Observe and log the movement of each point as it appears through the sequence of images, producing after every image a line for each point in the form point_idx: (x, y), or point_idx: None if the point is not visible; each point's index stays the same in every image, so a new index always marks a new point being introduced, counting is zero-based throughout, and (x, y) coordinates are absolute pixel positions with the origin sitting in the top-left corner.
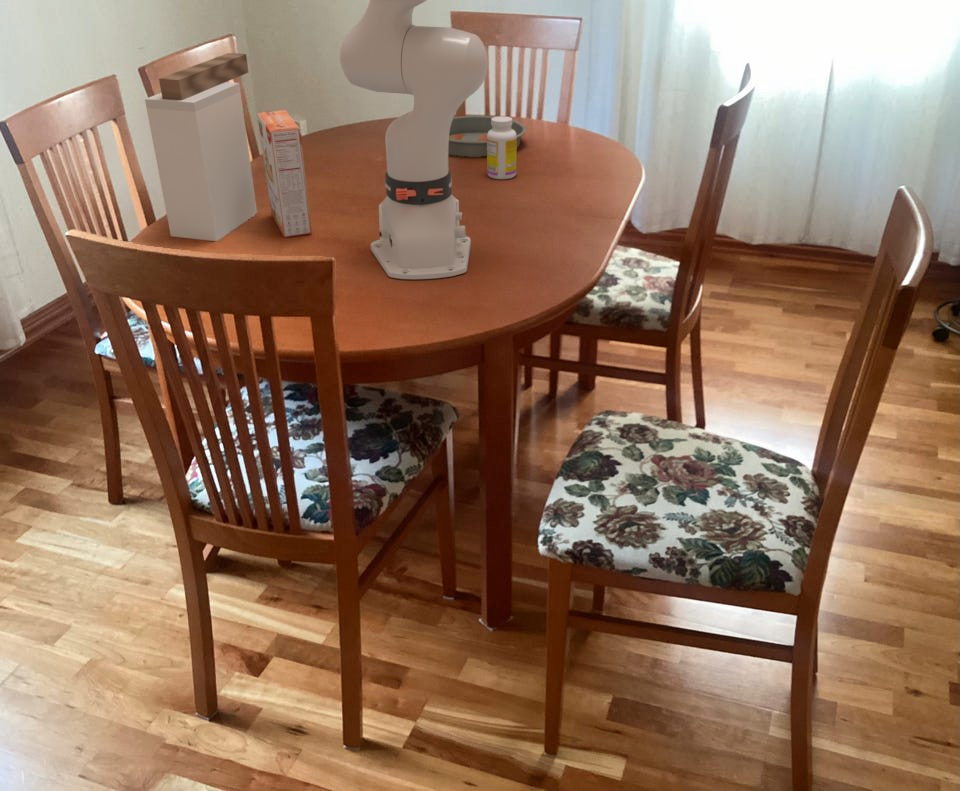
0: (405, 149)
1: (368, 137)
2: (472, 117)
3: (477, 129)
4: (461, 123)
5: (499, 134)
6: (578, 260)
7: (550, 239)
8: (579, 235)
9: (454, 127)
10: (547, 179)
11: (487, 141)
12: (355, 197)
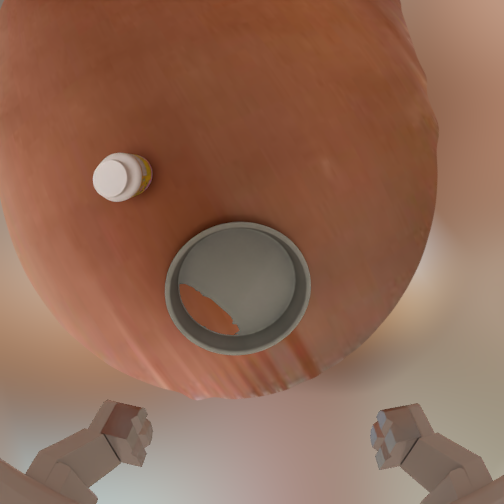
0: None
1: (380, 246)
2: (274, 340)
3: (263, 332)
4: (284, 325)
5: (110, 157)
6: (6, 28)
7: (27, 42)
8: (9, 66)
9: (289, 314)
10: (79, 193)
11: (136, 159)
12: (266, 24)
